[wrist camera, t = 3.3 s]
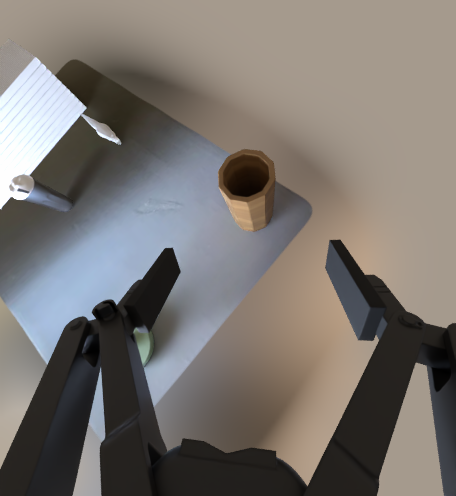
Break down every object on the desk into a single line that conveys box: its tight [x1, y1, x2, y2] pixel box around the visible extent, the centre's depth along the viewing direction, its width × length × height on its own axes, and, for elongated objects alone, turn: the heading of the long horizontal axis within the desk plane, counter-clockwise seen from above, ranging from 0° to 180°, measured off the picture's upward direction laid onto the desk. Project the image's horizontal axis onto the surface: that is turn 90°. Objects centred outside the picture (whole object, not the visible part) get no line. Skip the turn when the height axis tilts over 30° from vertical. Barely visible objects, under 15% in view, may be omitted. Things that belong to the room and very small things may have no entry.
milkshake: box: [8, 174, 73, 212], centre depth 37 cm, size 4×5×10 cm
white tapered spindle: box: [79, 113, 121, 144], centre depth 43 cm, size 15×3×2 cm, turn 51°
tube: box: [218, 149, 275, 232], centre depth 28 cm, size 6×7×12 cm
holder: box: [133, 328, 154, 367], centre depth 29 cm, size 9×9×9 cm
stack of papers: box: [0, 39, 87, 209], centre depth 42 cm, size 32×11×11 cm, turn 141°
